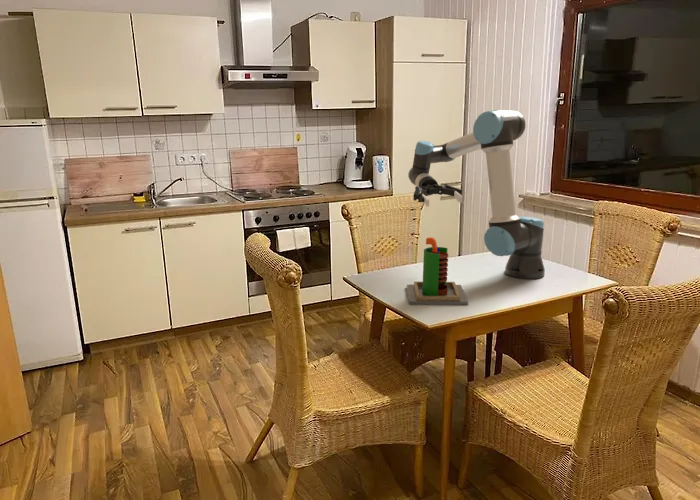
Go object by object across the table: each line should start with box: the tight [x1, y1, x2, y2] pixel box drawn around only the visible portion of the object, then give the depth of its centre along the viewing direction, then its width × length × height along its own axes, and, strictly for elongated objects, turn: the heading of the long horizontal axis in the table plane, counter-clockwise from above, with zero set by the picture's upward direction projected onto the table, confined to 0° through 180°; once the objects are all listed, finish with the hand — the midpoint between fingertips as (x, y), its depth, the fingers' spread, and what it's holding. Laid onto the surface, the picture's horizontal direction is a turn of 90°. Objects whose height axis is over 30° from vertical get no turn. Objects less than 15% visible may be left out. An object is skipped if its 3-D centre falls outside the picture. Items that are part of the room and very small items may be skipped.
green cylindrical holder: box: [422, 237, 449, 295], centre depth 187 cm, size 10×9×20 cm
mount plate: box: [406, 281, 469, 306], centre depth 189 cm, size 20×18×3 cm
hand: (444, 201), depth 204 cm, fingers open, 13 cm apart
